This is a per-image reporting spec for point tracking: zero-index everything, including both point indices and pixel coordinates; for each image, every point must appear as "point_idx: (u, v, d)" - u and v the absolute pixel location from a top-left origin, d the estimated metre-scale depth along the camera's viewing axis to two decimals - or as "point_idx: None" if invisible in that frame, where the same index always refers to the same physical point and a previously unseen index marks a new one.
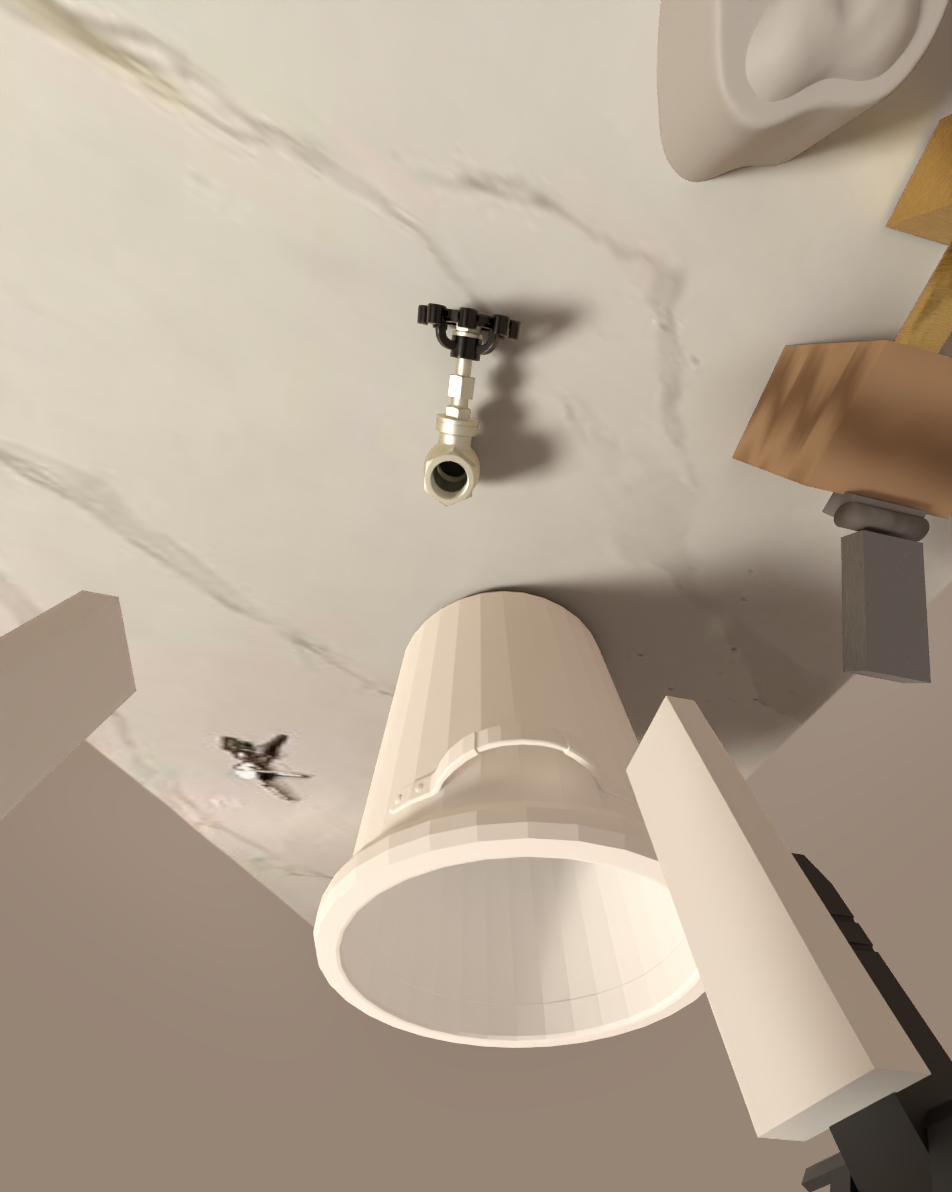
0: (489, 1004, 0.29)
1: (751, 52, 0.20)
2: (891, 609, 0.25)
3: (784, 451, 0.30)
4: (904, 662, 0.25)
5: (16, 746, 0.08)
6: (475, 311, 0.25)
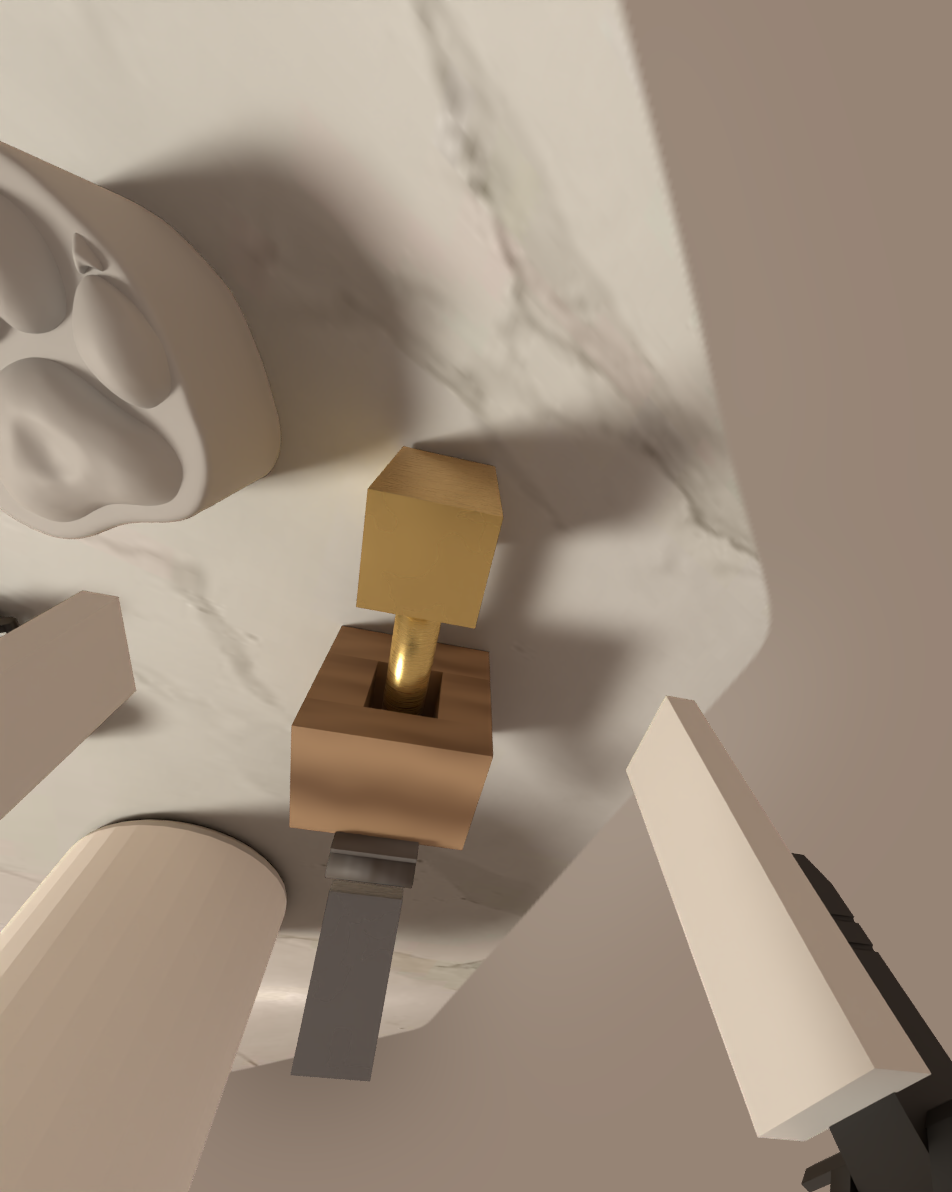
0: None
1: None
2: (341, 991, 0.23)
3: None
4: (341, 1058, 0.23)
5: (16, 746, 0.08)
6: None
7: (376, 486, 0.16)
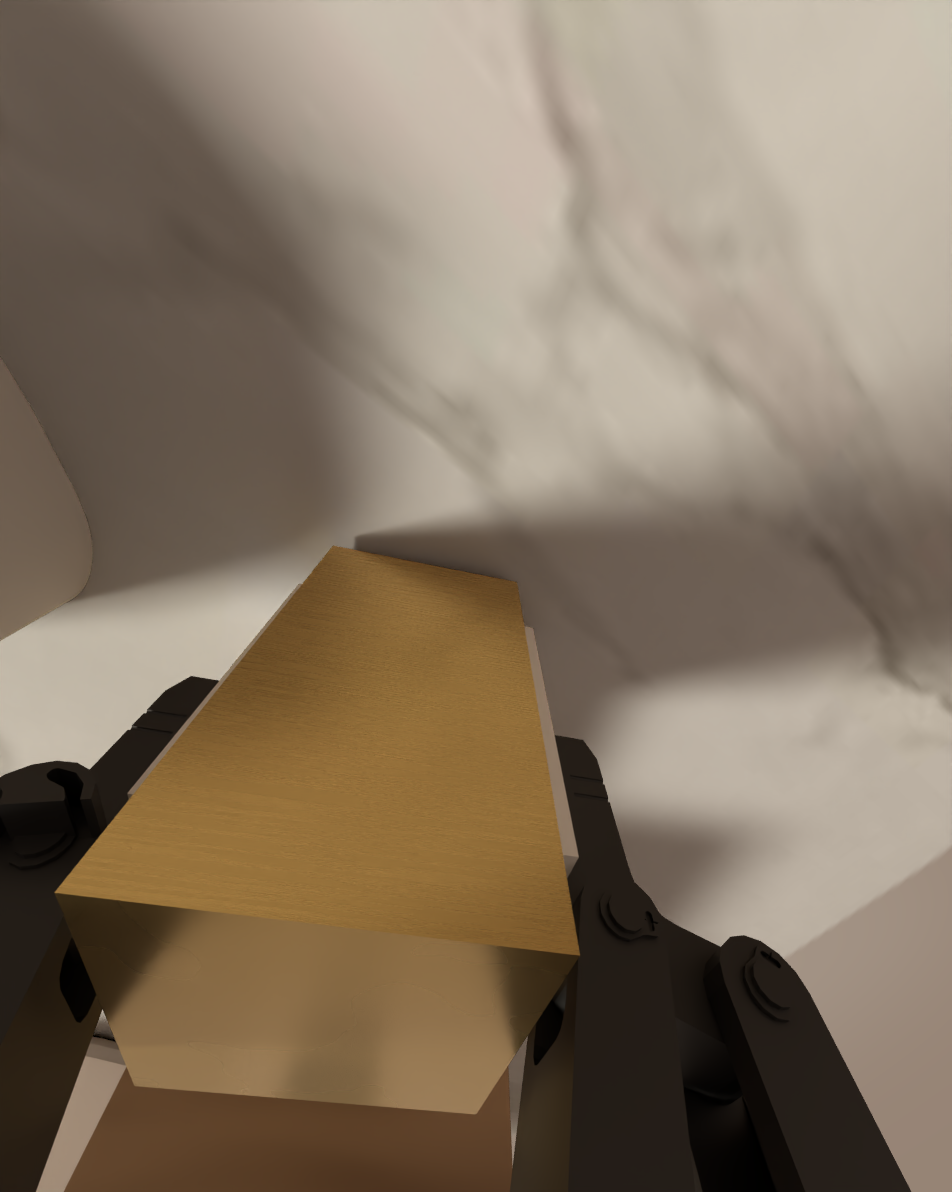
0: None
1: None
2: None
3: None
4: None
5: None
6: None
7: (117, 845, 0.04)
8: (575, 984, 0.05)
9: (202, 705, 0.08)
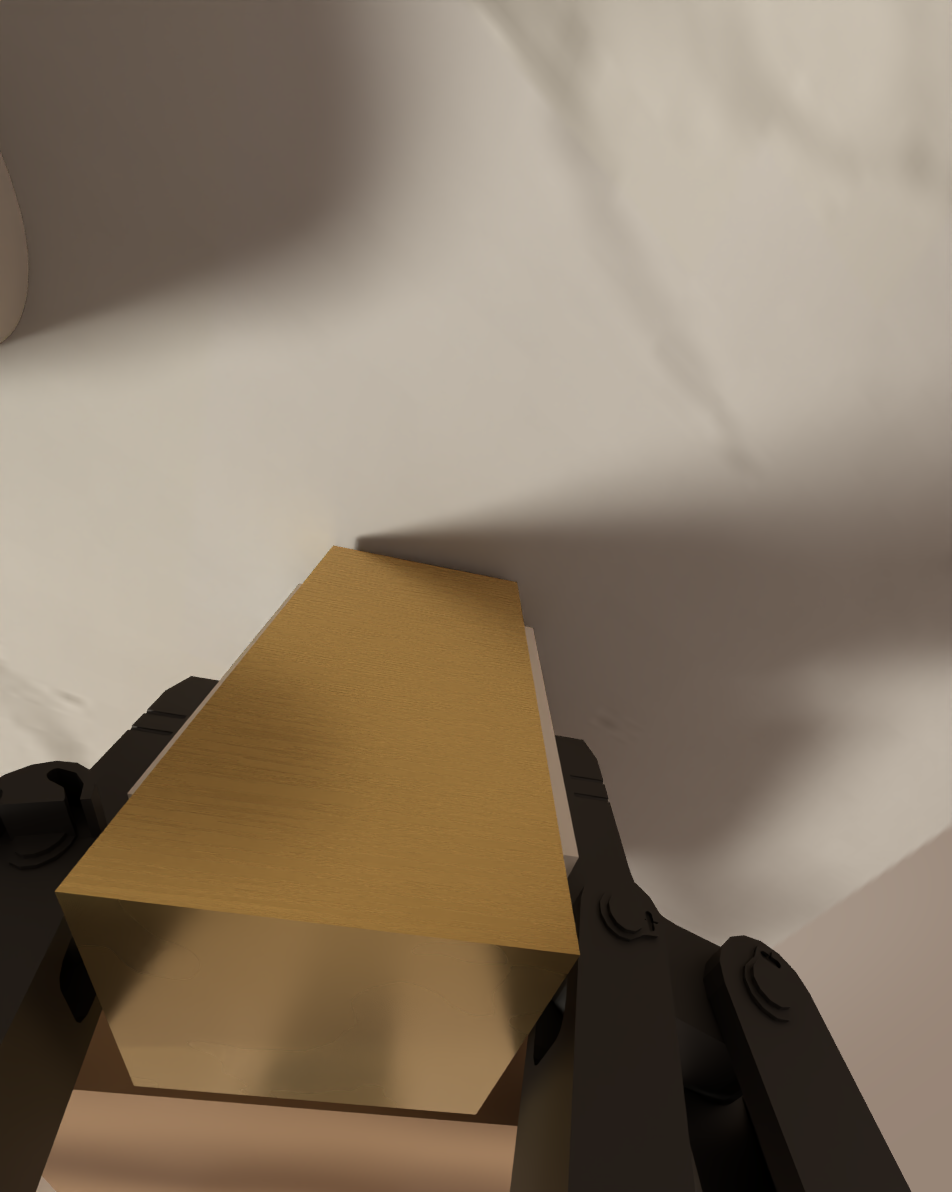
0: None
1: None
2: None
3: None
4: None
5: None
6: None
7: (117, 844, 0.04)
8: (575, 984, 0.05)
9: (202, 705, 0.08)
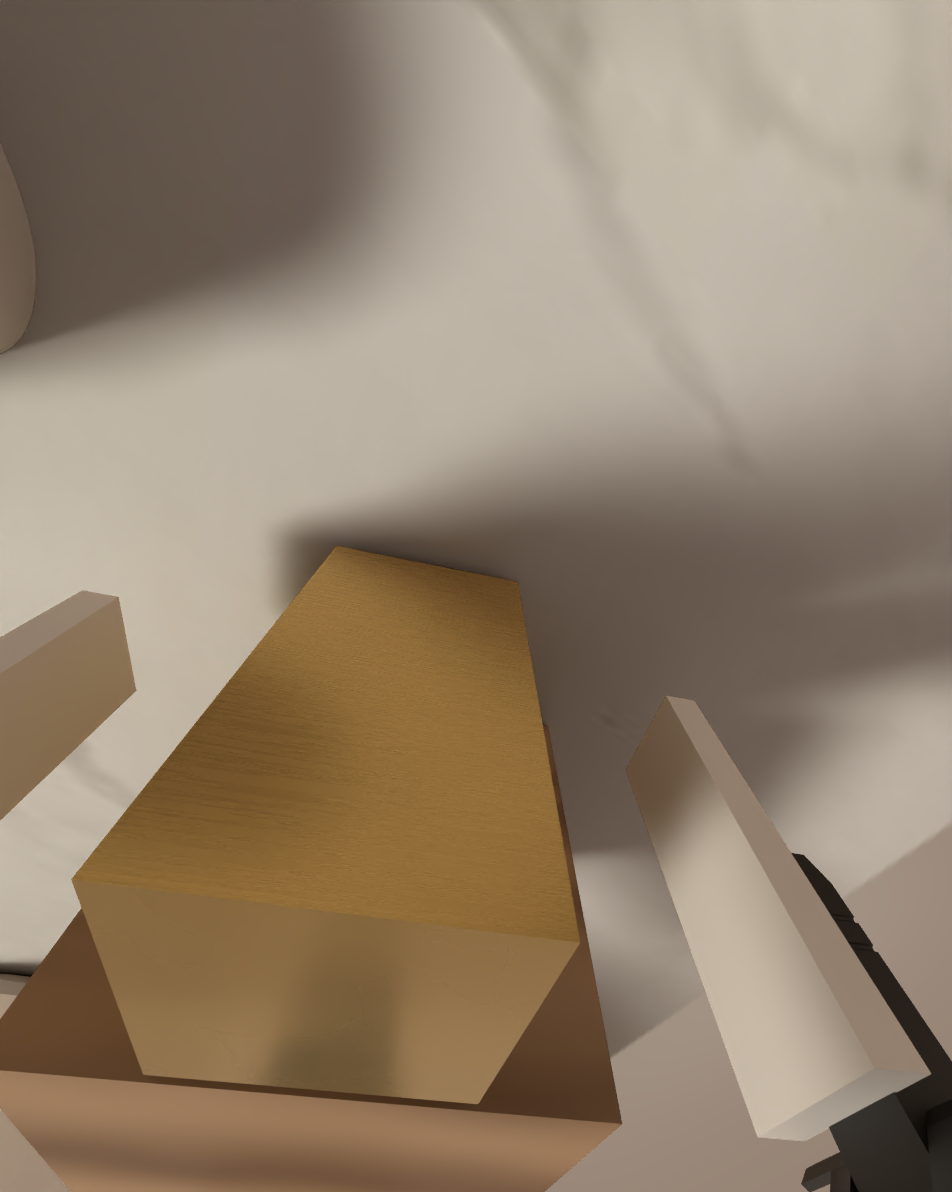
0: None
1: None
2: None
3: None
4: None
5: (16, 746, 0.08)
6: None
7: (130, 835, 0.05)
8: None
9: None
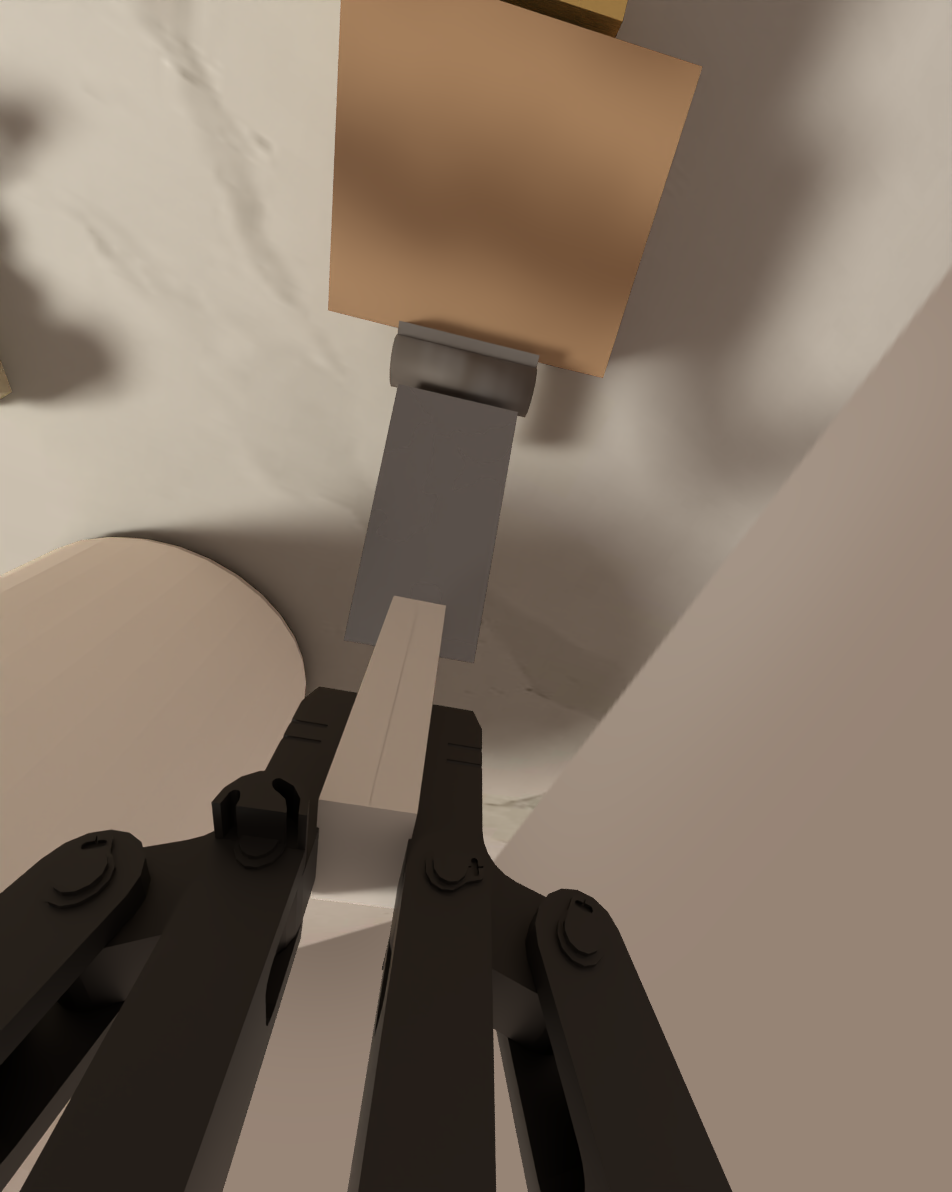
0: None
1: None
2: (422, 529, 0.14)
3: None
4: None
5: None
6: None
7: None
8: (393, 949, 0.05)
9: (352, 716, 0.08)
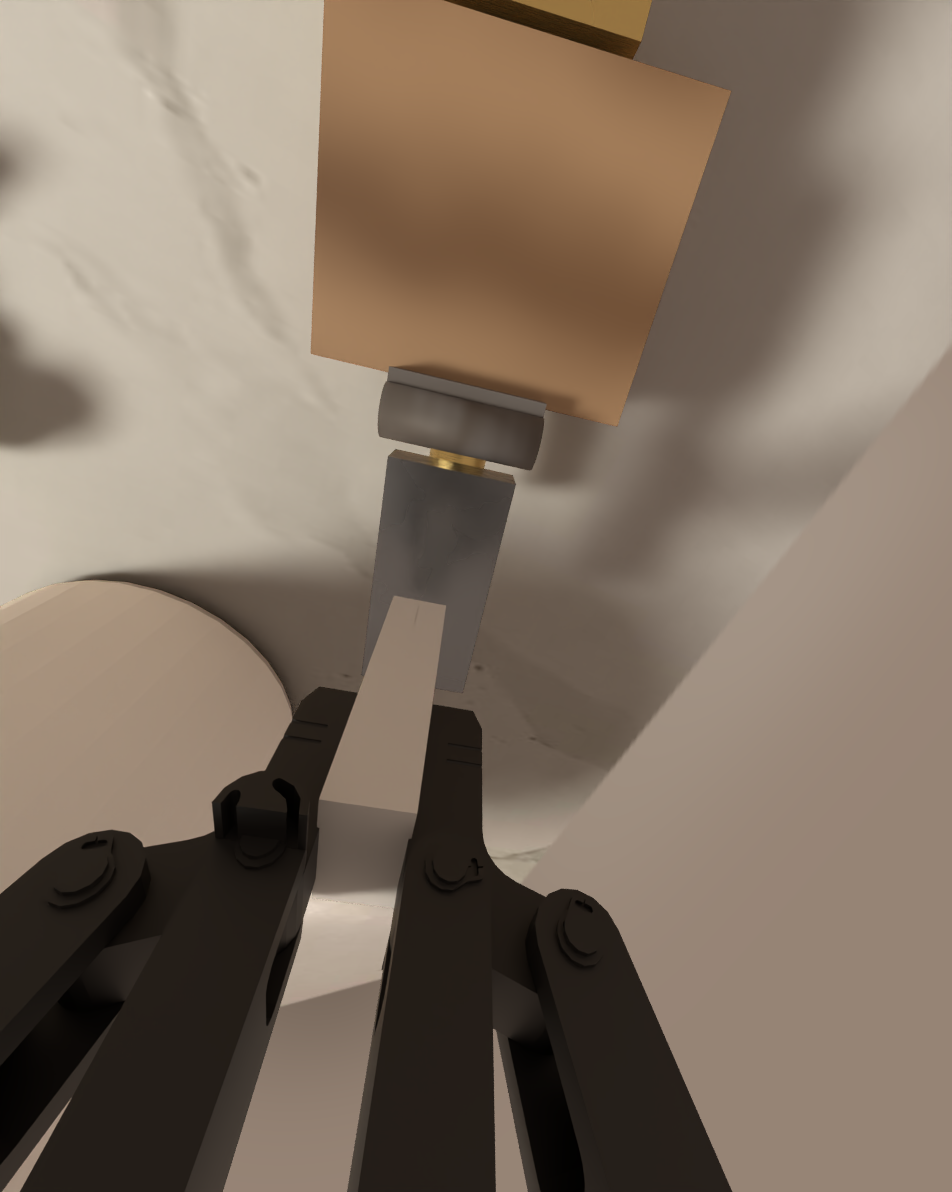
0: None
1: None
2: (419, 597, 0.16)
3: None
4: None
5: None
6: None
7: None
8: (393, 949, 0.05)
9: (352, 716, 0.08)
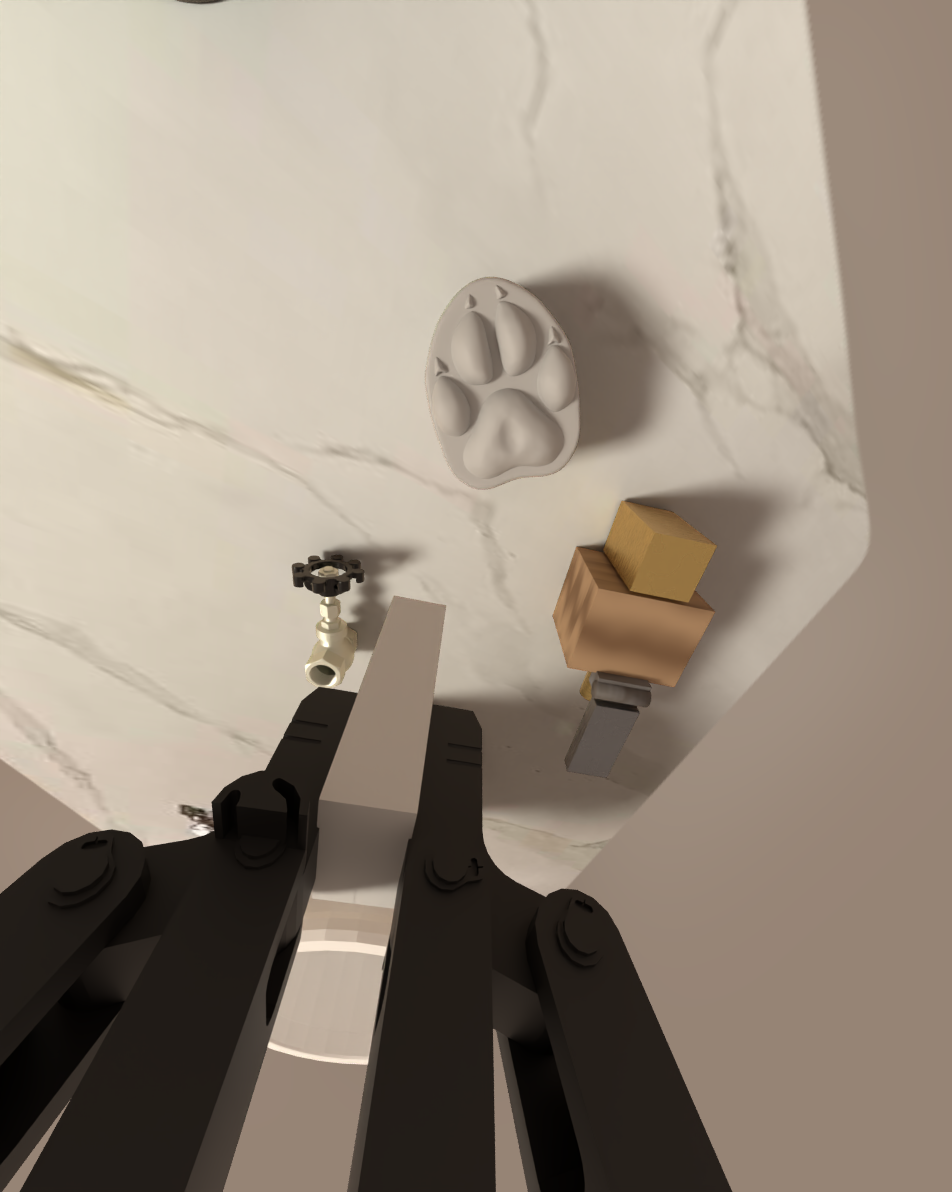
0: (350, 1033, 0.41)
1: (465, 459, 0.32)
2: (596, 745, 0.41)
3: (565, 632, 0.41)
4: (593, 769, 0.42)
5: None
6: (321, 584, 0.38)
7: (655, 530, 0.33)
8: (393, 949, 0.05)
9: (352, 716, 0.08)
